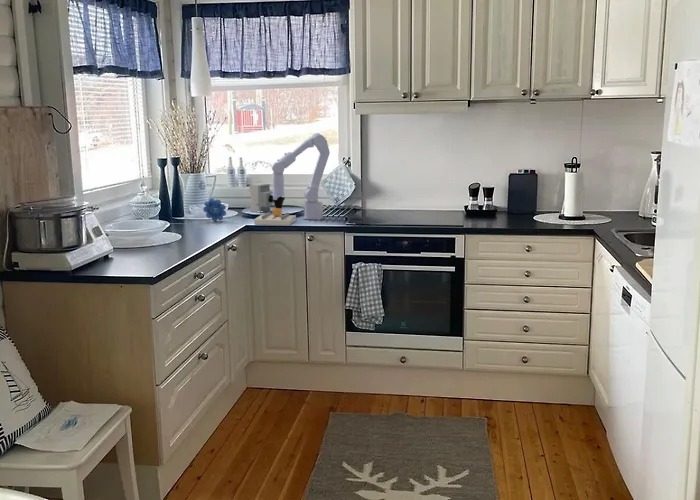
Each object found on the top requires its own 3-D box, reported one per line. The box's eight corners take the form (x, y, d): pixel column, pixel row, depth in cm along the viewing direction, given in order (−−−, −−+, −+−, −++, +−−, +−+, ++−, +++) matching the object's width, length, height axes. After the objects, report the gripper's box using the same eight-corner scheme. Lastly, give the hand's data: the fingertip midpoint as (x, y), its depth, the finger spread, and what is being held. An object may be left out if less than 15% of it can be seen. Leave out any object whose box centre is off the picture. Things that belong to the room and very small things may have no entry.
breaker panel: (295, 220, 372) (295, 212, 371) (289, 225, 358) (289, 217, 357) (262, 219, 374) (262, 211, 373) (254, 224, 361) (254, 216, 360)
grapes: (205, 223, 363) (203, 200, 361) (203, 221, 370) (201, 198, 367) (227, 221, 367) (226, 198, 364) (225, 219, 373) (224, 196, 370)
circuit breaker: (268, 214, 388) (268, 186, 385) (250, 211, 397) (249, 184, 393) (278, 212, 394) (277, 185, 391) (259, 209, 402) (258, 182, 399)
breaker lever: (281, 214, 371) (281, 208, 370) (280, 215, 368) (280, 209, 367) (274, 214, 371) (274, 207, 370) (272, 215, 368) (272, 208, 367)
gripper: (274, 183, 377) (275, 208, 380) (266, 187, 363) (267, 213, 366) (287, 183, 376) (288, 209, 379) (280, 187, 362) (281, 214, 365)
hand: (278, 211), depth 372 cm, fingers closed
